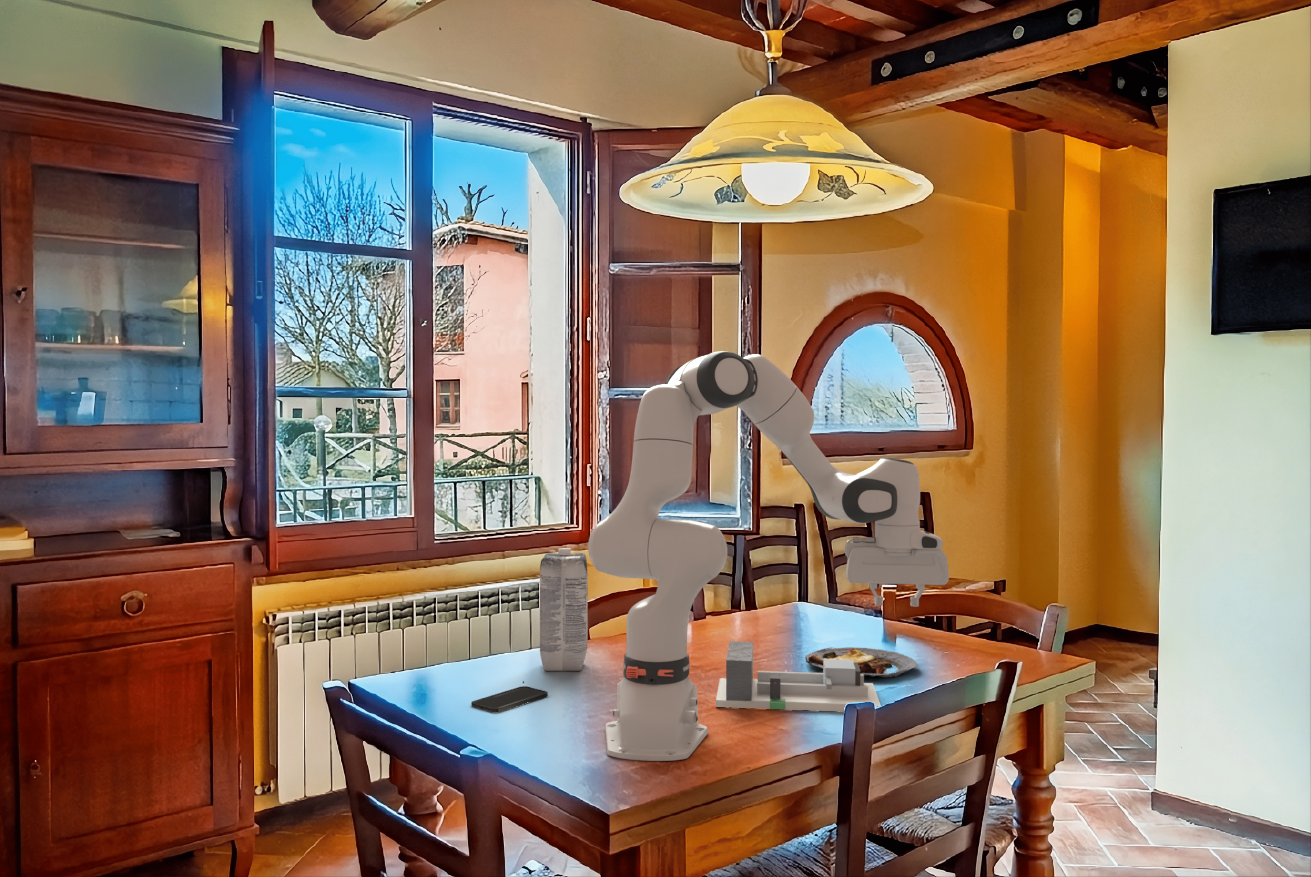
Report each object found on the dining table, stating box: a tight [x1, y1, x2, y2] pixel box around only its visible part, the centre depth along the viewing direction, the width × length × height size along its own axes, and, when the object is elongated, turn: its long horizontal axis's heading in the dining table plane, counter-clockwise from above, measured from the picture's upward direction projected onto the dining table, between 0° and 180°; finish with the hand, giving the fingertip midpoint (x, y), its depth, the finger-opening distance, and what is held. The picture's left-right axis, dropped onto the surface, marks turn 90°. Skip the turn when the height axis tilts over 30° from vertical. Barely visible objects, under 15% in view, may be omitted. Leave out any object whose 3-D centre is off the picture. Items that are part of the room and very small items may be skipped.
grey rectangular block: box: [725, 640, 754, 701], centre depth 204 cm, size 16×5×8 cm, turn 173°
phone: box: [471, 685, 549, 713], centre depth 201 cm, size 8×1×15 cm
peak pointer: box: [770, 674, 780, 700], centre depth 198 cm, size 5×2×4 cm, turn 173°
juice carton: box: [539, 547, 589, 672], centre depth 227 cm, size 9×10×27 cm
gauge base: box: [715, 670, 882, 713], centre depth 203 cm, size 16×32×4 cm, turn 83°
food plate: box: [805, 646, 919, 678], centre depth 227 cm, size 25×23×4 cm
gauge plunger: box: [822, 659, 860, 689], centre depth 202 cm, size 12×7×5 cm, turn 173°
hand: (896, 605), depth 203 cm, fingers open, 6 cm apart
